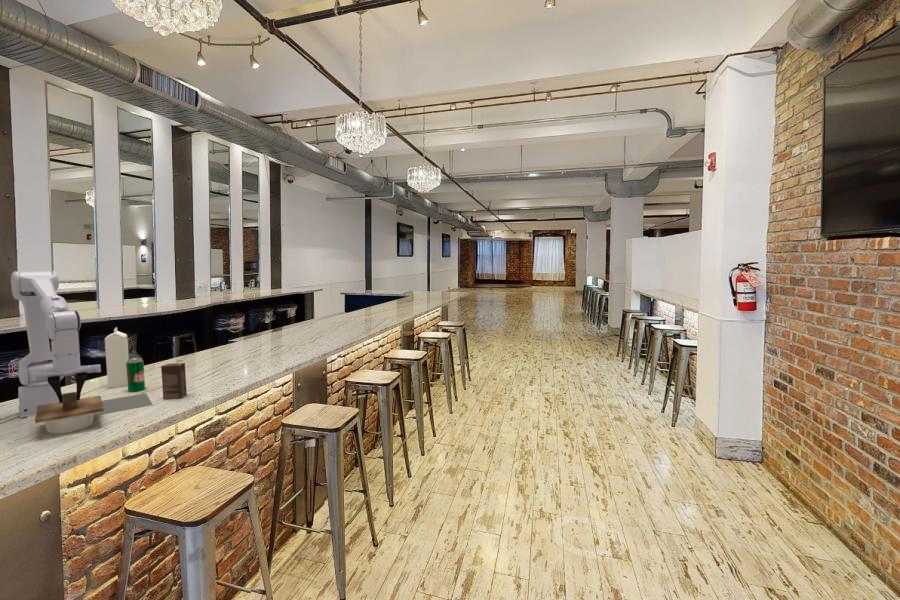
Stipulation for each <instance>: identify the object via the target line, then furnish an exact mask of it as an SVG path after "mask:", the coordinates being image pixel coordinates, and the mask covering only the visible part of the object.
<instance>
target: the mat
mask: <svg viewBox="0 0 900 600" xmlns="http://www.w3.org/2000/svg"><path fill="white" fill-rule="evenodd" d="M102 404H103V408H104V411H100V412H95V413H94V416H93V417H95V416H97V417H98V416H101V415H102V416H103V415H107V414H112V413H118V412H123V411H128V410H134V409H140V408H145V407H151V406H153V404H154V403H152V401H151V399H150V397H149V396H148V394H147V393H140V394H134V395H128V396H121V397H117V398H111V399H104V400H102Z"/></svg>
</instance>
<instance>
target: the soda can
mask: <svg viewBox="0 0 900 600" xmlns="http://www.w3.org/2000/svg"><path fill="white" fill-rule="evenodd" d="M144 365H145V363H144V360H143V358H142V357H129V359H127V362H126V369H127V384H128V386H127V391H128V392H129V393H137V392H141V391H145V389H146V382H145V381H146V379H145V366H144Z"/></svg>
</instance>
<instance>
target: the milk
mask: <svg viewBox="0 0 900 600" xmlns="http://www.w3.org/2000/svg"><path fill="white" fill-rule="evenodd" d="M128 341H129V340H128V334H127V333H124V332H121V331H119V330H118V327H117V326H116V327H114V329H113V333H110V334H108V335H107V336H106V337H105V338H104V347H105V348H104V349H105V362H106V376H107V387H108V389H111V388H110V387H116V388H121V387H122V388H124V387H123V386H125V387H128V384H127V369H126V362H127V359H130V356H129V343H128Z"/></svg>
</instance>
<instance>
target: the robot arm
mask: <svg viewBox="0 0 900 600" xmlns="http://www.w3.org/2000/svg"><path fill="white" fill-rule="evenodd" d="M10 286H11V293H12V296H13V299H14V300H17V301H20V302H21V303H22V306H23V310H24V317H25V319H24V320H25V327H26V334H27V340H28V347H29V353H28V354H27V355H25V356H24V357H23V358H21V359H20V360H19V362H18V379H19V382H20V384H21V386H18V389H17V390H18V394H17V395H18V403H19V404H18V411H19V415H20V417H19V418H21V419H23V418H27V417H29V416H34V415H35V416H36V411H37V406H38V405H45V404H51V403H57V402H59V403H63V402H62V394H63V393H62V386H61V385H62V384H61V381H62V380H63V379H64V377H68V376H75V381H76V391H75V392H76V396H77V400H80V399H81V394H82V389H83V387H84V385H85V383H86V381H87V378H88V374H93V373H101V372H102V369H101V368H102V367H101V364H100V363H99V364H91V365H90V364H89V365H81V359H80V357H81V356H80V344H79V342H80V341H79V332H78V331H80V329H81V326H82V320H81V319H82V318H81V315H80V313H79V311H78V310H77V309H74V308H71V307H70V306H69V304H68V302H67V301H66V299H65V298H64V297H62V296H61V295H58V294H57V290H59V286H60V279H59V276H58V273H57V272H56V271H55V270H49V271H47V270H46V271H45V270H44V271H43V270H42V271H15V270H14V271H13V272H12V273H11V275H10ZM50 346H51V347H50ZM22 385H23V386H22Z"/></svg>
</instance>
